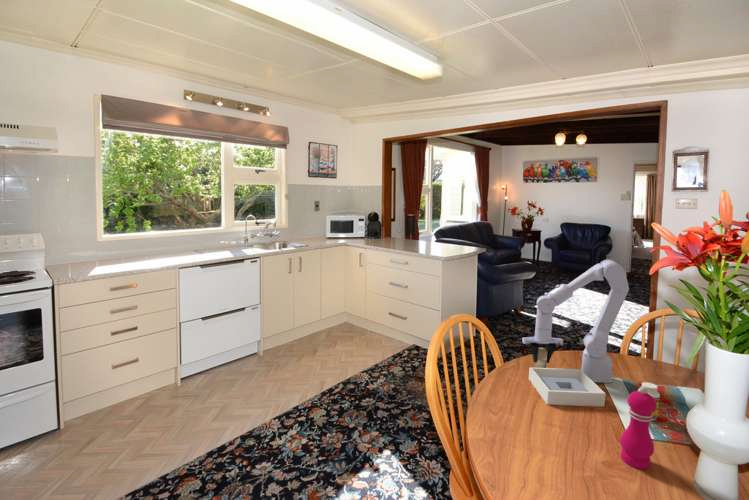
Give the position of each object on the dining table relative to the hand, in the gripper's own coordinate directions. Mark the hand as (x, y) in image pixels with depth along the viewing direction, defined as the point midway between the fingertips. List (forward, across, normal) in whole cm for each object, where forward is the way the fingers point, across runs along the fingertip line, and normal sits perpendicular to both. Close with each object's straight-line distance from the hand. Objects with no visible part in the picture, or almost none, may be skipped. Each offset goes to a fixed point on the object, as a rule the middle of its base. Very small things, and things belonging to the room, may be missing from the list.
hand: (541, 361), depth 156 cm
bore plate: (+3, -2, +18) cm, 18 cm away
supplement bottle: (+4, -21, +31) cm, 38 cm away
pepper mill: (+4, -5, +53) cm, 53 cm away
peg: (+2, 0, 0) cm, 2 cm away
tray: (+3, -2, +17) cm, 17 cm away
